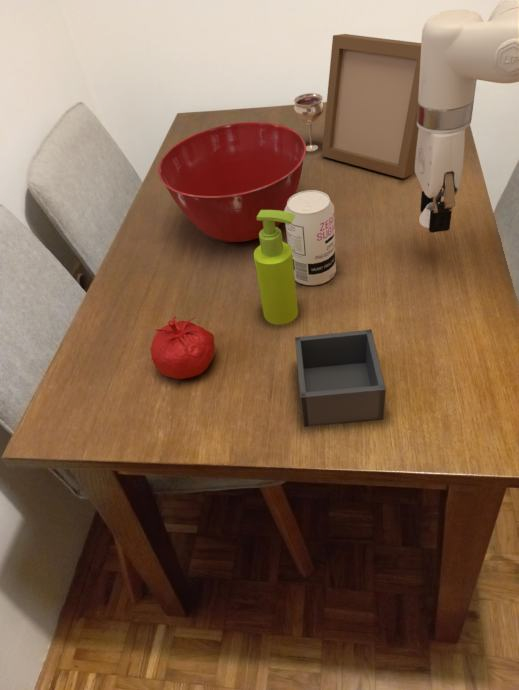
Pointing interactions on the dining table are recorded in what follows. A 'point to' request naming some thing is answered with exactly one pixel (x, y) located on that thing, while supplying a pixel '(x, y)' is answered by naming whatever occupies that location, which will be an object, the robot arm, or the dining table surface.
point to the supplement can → (312, 237)
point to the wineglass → (309, 112)
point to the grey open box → (340, 378)
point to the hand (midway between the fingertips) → (434, 219)
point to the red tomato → (182, 349)
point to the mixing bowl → (234, 176)
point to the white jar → (426, 215)
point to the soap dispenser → (275, 269)
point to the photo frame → (373, 103)
